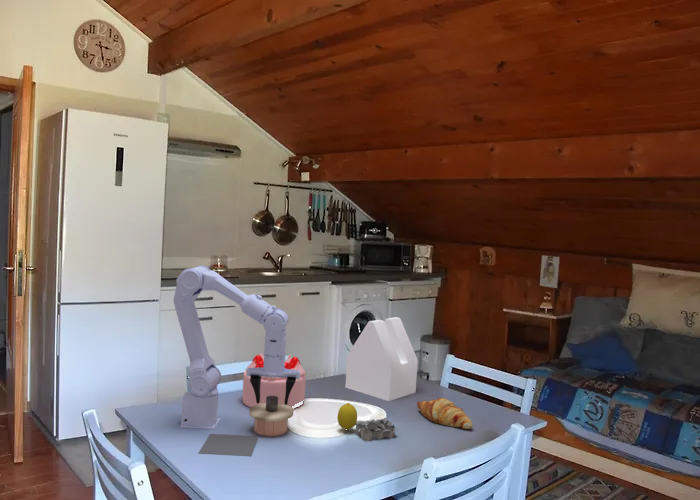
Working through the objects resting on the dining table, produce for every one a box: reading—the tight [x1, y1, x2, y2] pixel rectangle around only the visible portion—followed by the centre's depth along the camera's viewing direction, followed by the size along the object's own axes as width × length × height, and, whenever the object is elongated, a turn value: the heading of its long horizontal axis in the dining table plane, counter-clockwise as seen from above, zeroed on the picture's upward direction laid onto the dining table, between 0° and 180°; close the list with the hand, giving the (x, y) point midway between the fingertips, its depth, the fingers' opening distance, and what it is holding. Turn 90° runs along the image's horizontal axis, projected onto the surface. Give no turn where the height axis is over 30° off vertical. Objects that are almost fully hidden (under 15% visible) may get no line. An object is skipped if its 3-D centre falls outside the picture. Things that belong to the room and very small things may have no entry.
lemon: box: [337, 402, 358, 431], centre depth 168 cm, size 6×6×8 cm
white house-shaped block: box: [344, 316, 419, 402], centre depth 209 cm, size 19×15×25 cm
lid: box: [248, 396, 294, 421], centre depth 164 cm, size 12×12×4 cm
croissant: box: [416, 396, 474, 430], centre depth 182 cm, size 21×10×8 cm, turn 43°
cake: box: [241, 352, 307, 408], centre depth 190 cm, size 20×20×14 cm
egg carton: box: [355, 417, 398, 441], centre depth 167 cm, size 11×8×4 cm
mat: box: [197, 433, 259, 457], centre depth 153 cm, size 13×13×1 cm
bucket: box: [253, 418, 289, 437], centre depth 165 cm, size 9×9×5 cm
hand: (272, 402), depth 165 cm, fingers open, 7 cm apart
